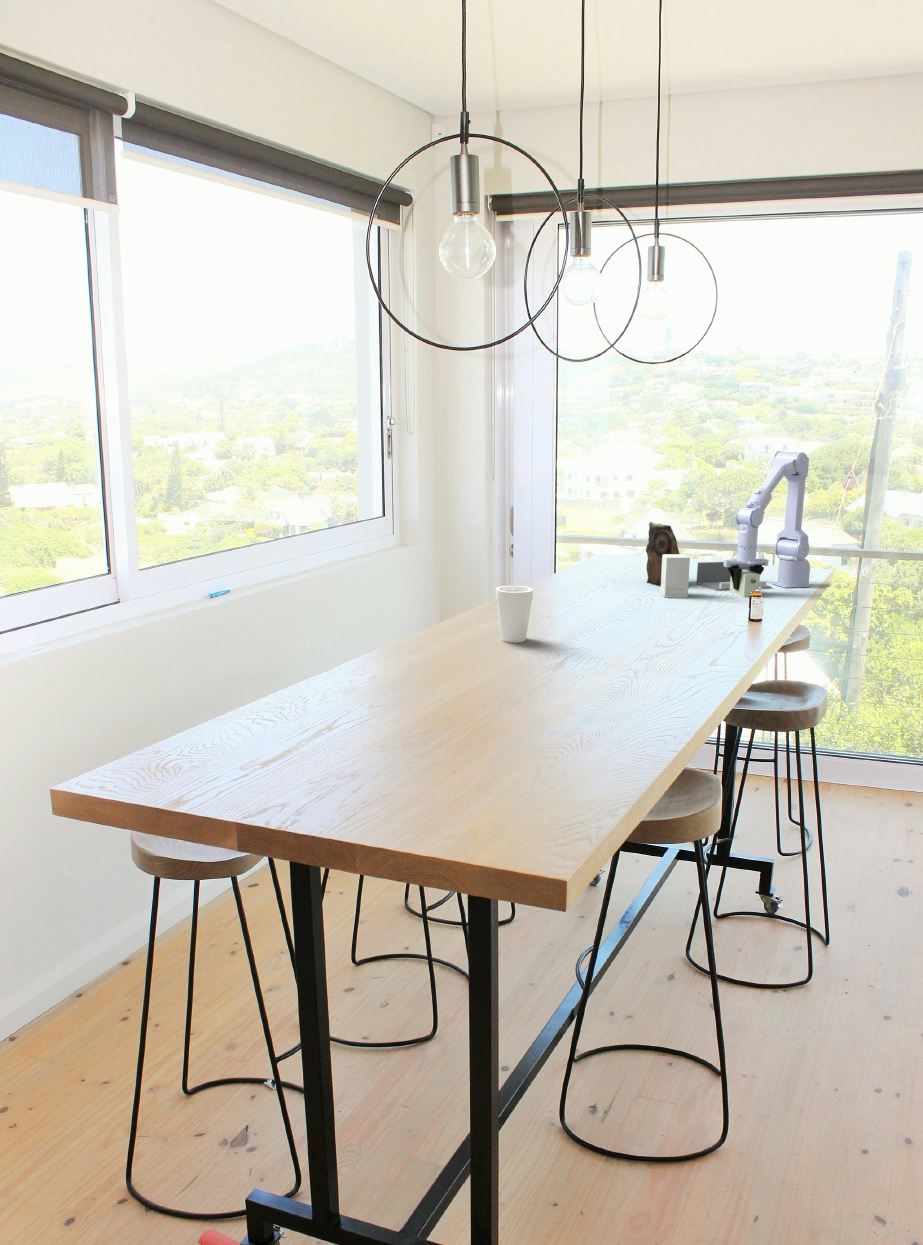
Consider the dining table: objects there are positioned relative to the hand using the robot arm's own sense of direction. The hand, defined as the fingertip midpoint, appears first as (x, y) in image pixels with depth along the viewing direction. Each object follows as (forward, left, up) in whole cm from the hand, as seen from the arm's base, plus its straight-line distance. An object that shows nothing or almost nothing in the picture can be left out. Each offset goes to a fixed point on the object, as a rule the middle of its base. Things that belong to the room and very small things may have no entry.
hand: (744, 589), depth 320 cm
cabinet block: (0, 0, -2) cm, 2 cm away
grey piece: (-4, -14, -2) cm, 14 cm away
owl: (+16, -22, -2) cm, 27 cm away
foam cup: (+89, +43, -2) cm, 99 cm away
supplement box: (+23, -2, -2) cm, 23 cm away
